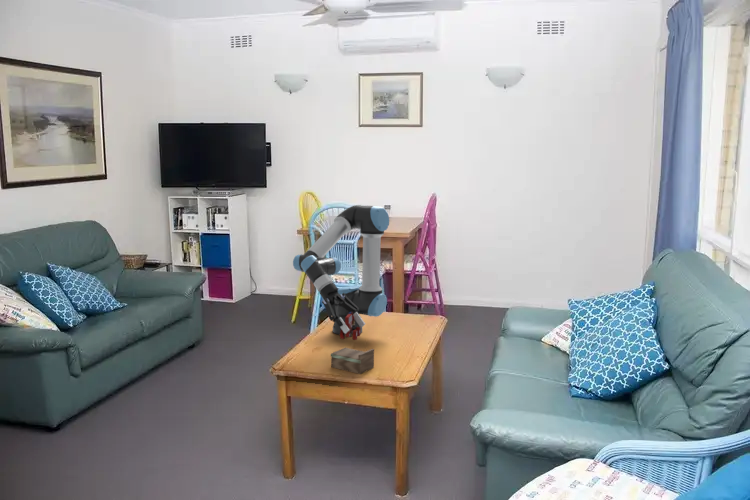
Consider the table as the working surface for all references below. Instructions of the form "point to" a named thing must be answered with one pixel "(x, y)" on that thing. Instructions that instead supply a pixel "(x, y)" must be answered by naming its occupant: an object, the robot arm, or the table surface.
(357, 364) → the stand
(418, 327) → the table surface
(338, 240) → the robot arm
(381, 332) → the table surface
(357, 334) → the toy fire truck
